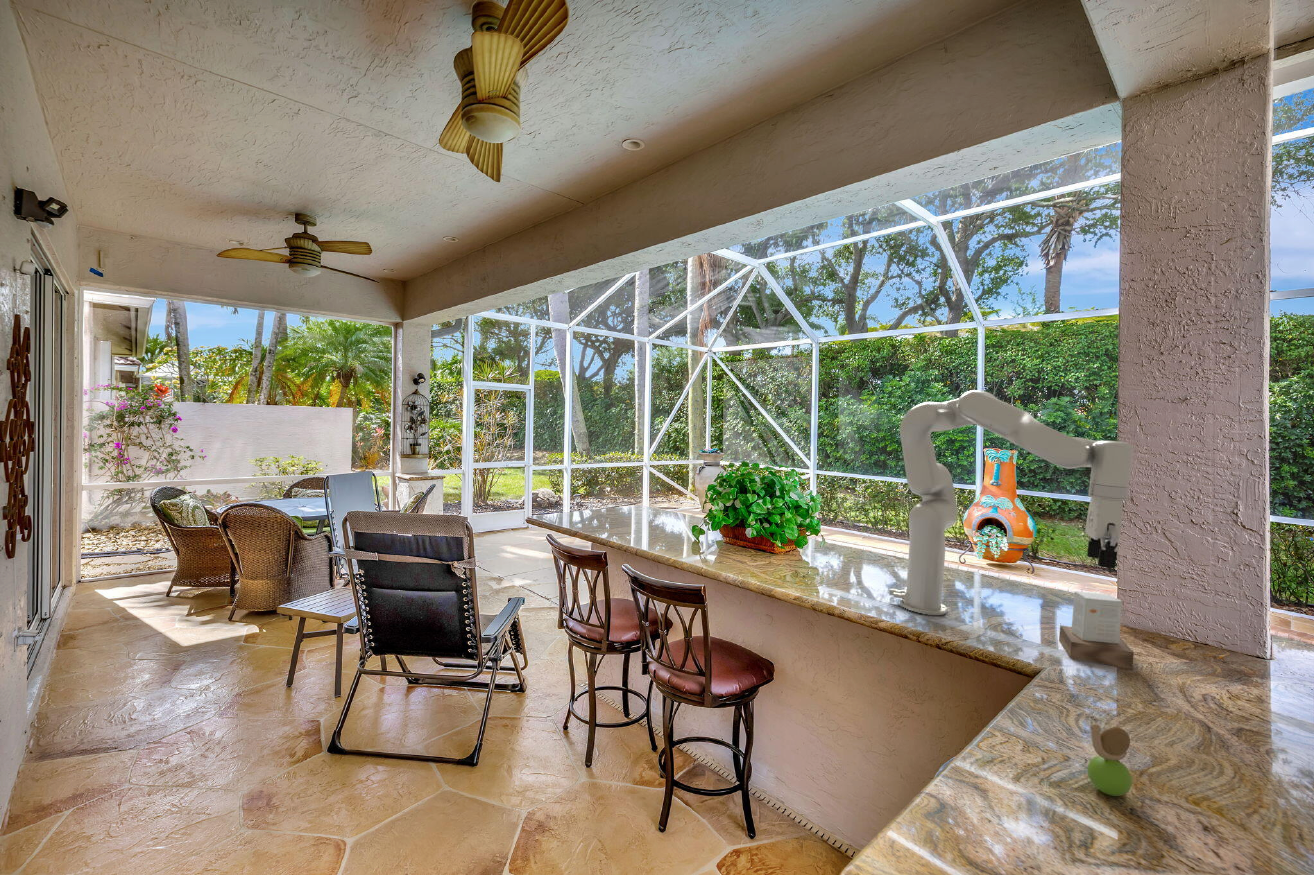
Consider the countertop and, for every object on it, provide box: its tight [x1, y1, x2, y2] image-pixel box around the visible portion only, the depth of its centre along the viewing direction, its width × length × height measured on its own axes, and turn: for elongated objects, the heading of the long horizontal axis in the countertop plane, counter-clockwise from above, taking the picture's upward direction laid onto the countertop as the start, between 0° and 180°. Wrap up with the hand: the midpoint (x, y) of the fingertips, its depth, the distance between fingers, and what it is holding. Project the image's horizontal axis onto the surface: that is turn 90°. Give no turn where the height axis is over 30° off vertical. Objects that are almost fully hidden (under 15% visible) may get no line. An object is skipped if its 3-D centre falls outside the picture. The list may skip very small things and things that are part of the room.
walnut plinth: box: [1058, 624, 1135, 670], centre depth 144 cm, size 12×12×4 cm
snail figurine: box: [1086, 714, 1133, 797], centre depth 90 cm, size 5×6×12 cm
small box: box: [1071, 591, 1124, 644], centre depth 143 cm, size 8×6×10 cm
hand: (1100, 562), depth 142 cm, fingers open, 9 cm apart
